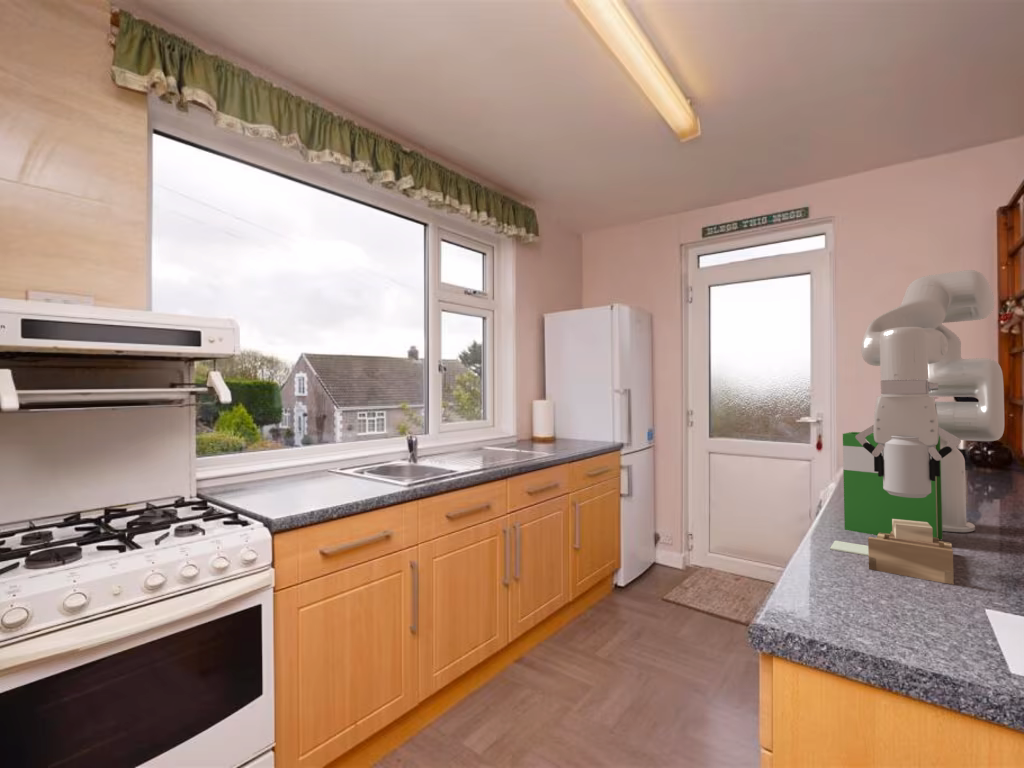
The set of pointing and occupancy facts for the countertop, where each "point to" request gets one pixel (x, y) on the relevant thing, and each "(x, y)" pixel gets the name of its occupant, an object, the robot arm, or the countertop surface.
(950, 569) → the frame
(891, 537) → the offcut large
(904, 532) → the offcut small
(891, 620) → the countertop surface
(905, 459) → the can
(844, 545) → the mat
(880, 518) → the hardback book
